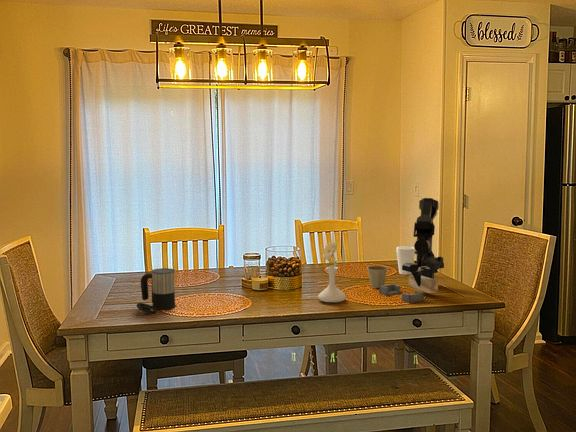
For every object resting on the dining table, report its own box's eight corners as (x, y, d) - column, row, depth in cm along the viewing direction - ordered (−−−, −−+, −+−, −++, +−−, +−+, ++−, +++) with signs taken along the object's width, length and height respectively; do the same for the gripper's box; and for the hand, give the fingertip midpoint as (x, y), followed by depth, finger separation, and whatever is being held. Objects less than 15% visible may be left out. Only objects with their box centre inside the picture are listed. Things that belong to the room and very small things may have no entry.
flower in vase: (316, 298, 235) (316, 238, 232) (343, 297, 235) (343, 238, 233) (320, 306, 222) (320, 243, 219) (348, 305, 222) (349, 243, 220)
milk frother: (177, 303, 228) (176, 267, 226) (173, 314, 212) (172, 275, 210) (141, 305, 226) (139, 268, 225) (135, 315, 210) (133, 276, 209)
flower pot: (387, 289, 249) (387, 270, 248) (366, 288, 251) (366, 269, 250) (388, 284, 258) (388, 266, 257) (367, 283, 260) (367, 265, 259)
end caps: (393, 291, 246) (393, 283, 245) (423, 300, 229) (423, 293, 229) (379, 293, 242) (379, 285, 242) (409, 303, 225) (409, 295, 225)
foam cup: (392, 273, 284) (392, 247, 282) (404, 270, 289) (405, 245, 288) (406, 276, 276) (406, 249, 275) (419, 273, 281) (419, 247, 280)
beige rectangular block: (416, 285, 247) (416, 274, 246) (437, 292, 234) (438, 280, 234) (408, 286, 245) (408, 275, 244) (430, 293, 232) (430, 281, 232)
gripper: (419, 254, 226) (419, 292, 228) (453, 250, 235) (453, 286, 237) (401, 250, 236) (401, 286, 238) (435, 246, 245) (434, 281, 246)
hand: (422, 285), depth 239 cm, fingers closed on beige rectangular block, 4 cm apart
